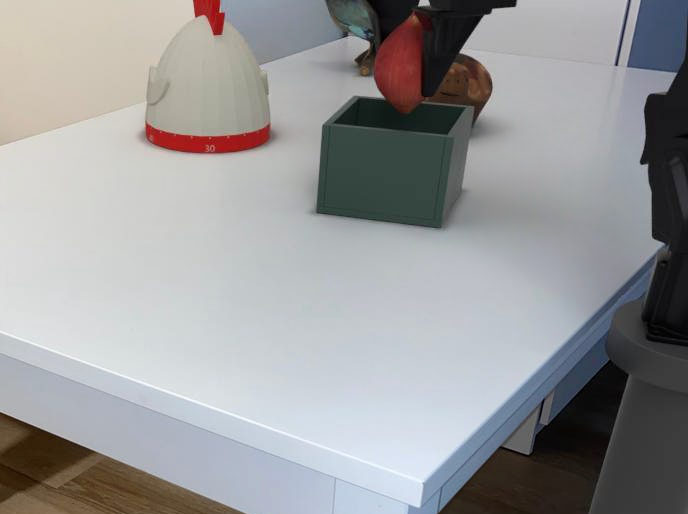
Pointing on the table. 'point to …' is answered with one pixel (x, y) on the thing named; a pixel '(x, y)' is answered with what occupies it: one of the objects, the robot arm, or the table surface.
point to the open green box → (393, 161)
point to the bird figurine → (355, 28)
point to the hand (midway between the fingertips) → (406, 89)
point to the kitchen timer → (207, 89)
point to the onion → (401, 66)
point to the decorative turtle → (465, 85)
